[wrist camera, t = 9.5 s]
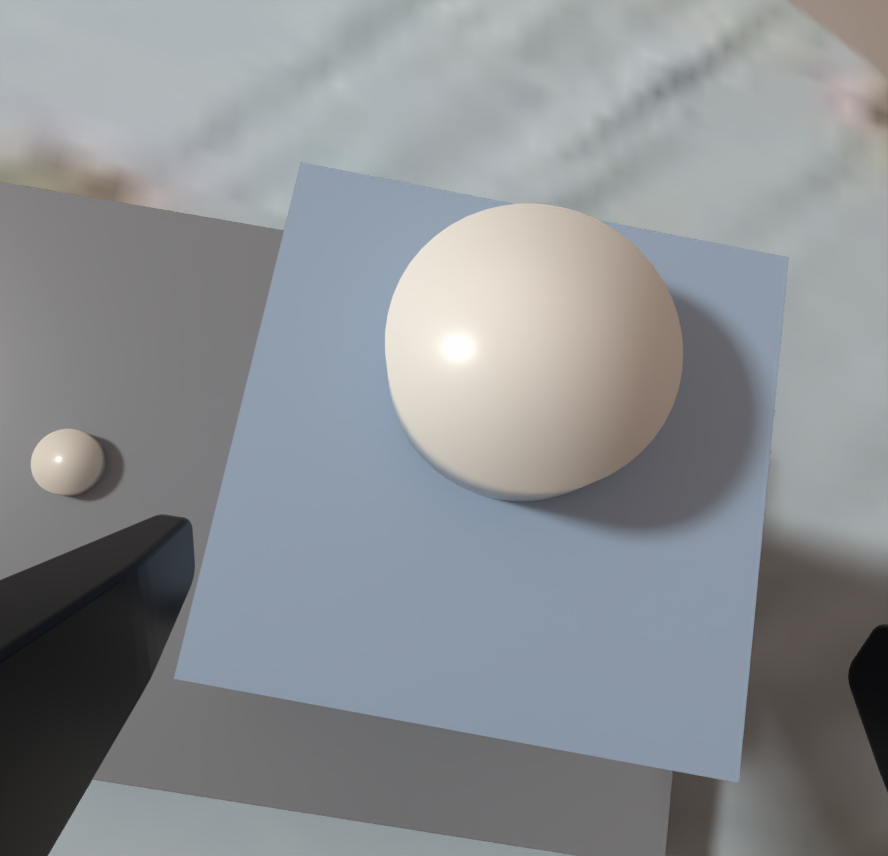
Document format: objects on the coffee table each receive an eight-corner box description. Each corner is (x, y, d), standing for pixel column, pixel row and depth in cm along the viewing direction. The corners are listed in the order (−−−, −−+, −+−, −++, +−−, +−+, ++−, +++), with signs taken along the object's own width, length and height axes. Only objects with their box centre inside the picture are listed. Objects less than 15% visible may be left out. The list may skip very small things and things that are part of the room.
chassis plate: (697, 319, 20) (758, 268, 17) (646, 848, 18) (706, 921, 14) (-70, 188, 20) (-174, 106, 16) (-242, 708, 17) (-410, 747, 14)
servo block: (512, 631, 17) (795, 820, 5) (335, 598, 17) (132, 699, 5) (540, 455, 18) (842, 213, 5) (371, 423, 18) (285, 105, 5)
